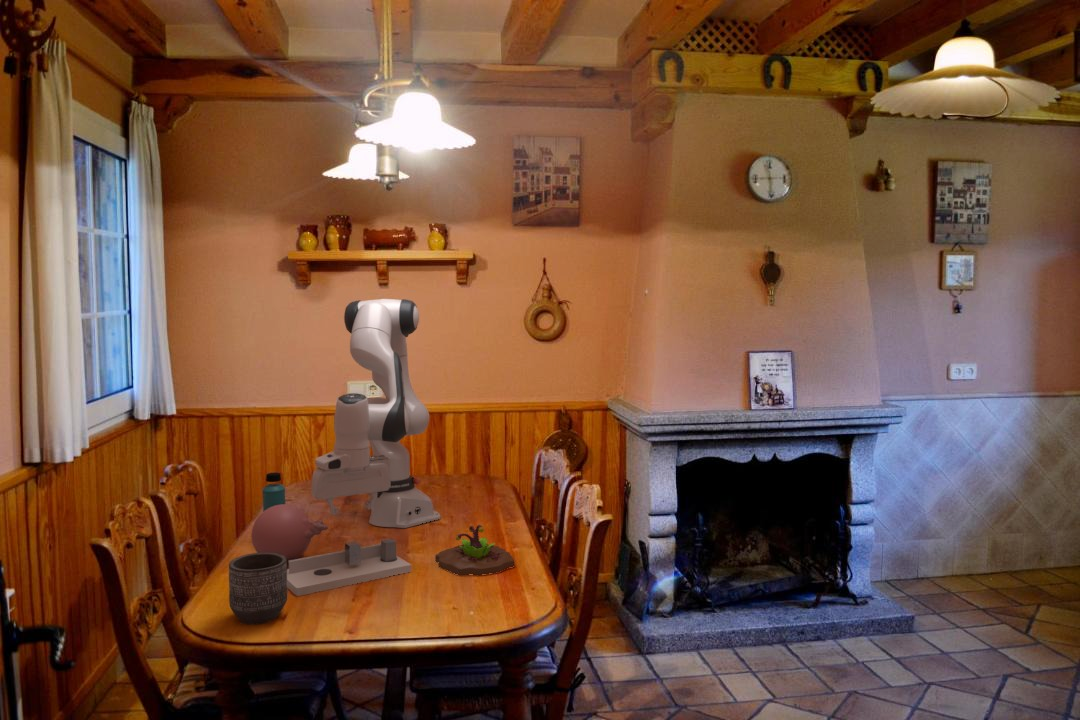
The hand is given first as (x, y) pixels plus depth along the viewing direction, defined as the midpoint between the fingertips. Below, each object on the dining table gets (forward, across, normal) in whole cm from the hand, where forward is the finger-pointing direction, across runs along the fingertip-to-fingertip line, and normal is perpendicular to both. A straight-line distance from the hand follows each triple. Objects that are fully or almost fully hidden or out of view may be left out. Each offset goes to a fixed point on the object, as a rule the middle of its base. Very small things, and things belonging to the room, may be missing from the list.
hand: (351, 511), depth 205 cm
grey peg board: (+16, +2, 0) cm, 16 cm away
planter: (+17, +28, +14) cm, 35 cm away
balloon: (+17, +10, -18) cm, 26 cm away
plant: (+17, -31, +10) cm, 37 cm away
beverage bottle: (+16, +8, -38) cm, 42 cm away
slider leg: (+14, 0, -1) cm, 14 cm away
